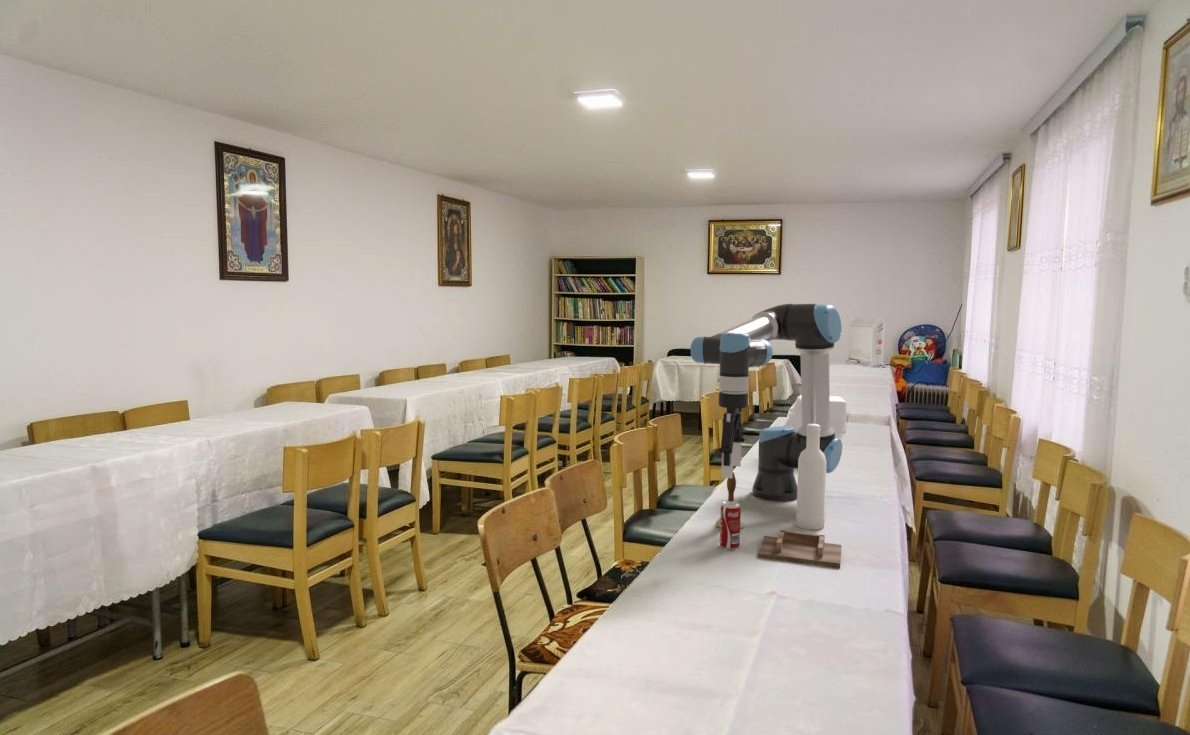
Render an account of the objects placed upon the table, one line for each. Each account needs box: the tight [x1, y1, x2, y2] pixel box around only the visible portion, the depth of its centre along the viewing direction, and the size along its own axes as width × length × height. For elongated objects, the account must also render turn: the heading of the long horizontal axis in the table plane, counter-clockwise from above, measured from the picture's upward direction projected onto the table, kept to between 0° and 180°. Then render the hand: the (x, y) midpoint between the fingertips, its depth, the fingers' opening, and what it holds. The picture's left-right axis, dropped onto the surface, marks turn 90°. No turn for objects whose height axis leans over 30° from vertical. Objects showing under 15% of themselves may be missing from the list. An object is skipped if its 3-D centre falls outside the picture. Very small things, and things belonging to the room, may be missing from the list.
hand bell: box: [715, 471, 745, 530], centre depth 204 cm, size 8×8×16 cm
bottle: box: [795, 424, 827, 531], centre depth 204 cm, size 8×8×30 cm
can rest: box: [757, 529, 842, 569], centre depth 183 cm, size 14×20×4 cm
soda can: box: [719, 500, 742, 551], centre depth 187 cm, size 5×5×12 cm
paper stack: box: [783, 394, 848, 441], centre depth 289 cm, size 21×27×26 cm
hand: (731, 471), depth 185 cm, fingers open, 13 cm apart
